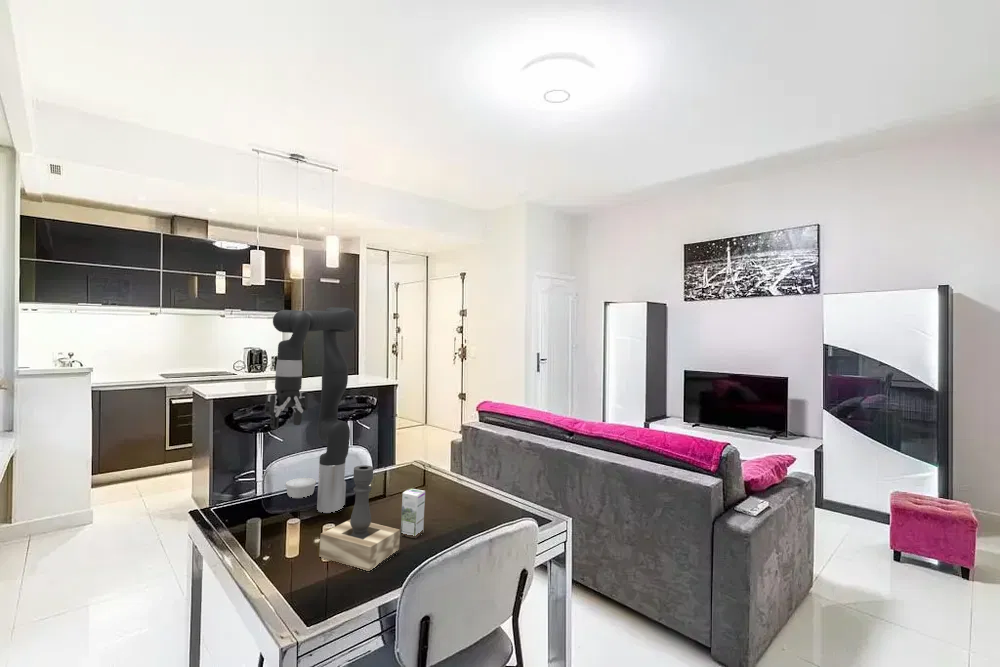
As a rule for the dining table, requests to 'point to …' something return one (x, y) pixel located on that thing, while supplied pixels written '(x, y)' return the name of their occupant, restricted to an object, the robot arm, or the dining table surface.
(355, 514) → the candle holder
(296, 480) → the ramekin
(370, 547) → the socket block
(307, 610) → the dining table surface
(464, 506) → the dining table surface
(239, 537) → the dining table surface
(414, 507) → the syrup box
